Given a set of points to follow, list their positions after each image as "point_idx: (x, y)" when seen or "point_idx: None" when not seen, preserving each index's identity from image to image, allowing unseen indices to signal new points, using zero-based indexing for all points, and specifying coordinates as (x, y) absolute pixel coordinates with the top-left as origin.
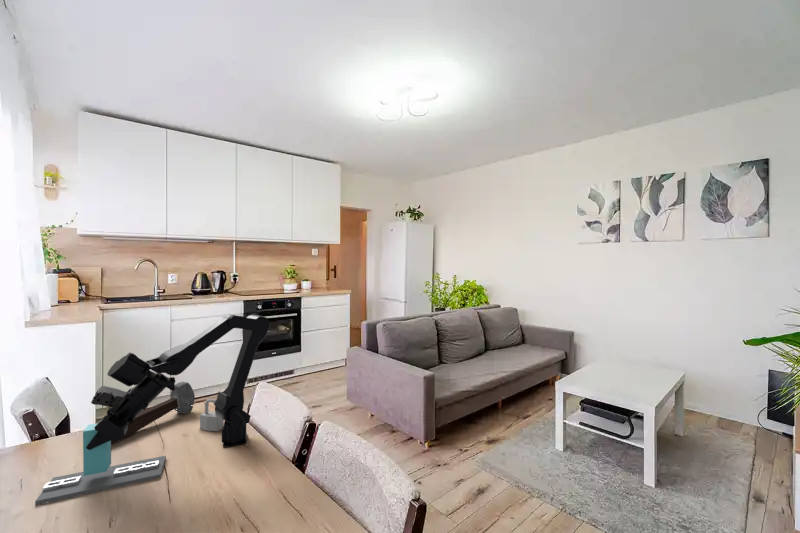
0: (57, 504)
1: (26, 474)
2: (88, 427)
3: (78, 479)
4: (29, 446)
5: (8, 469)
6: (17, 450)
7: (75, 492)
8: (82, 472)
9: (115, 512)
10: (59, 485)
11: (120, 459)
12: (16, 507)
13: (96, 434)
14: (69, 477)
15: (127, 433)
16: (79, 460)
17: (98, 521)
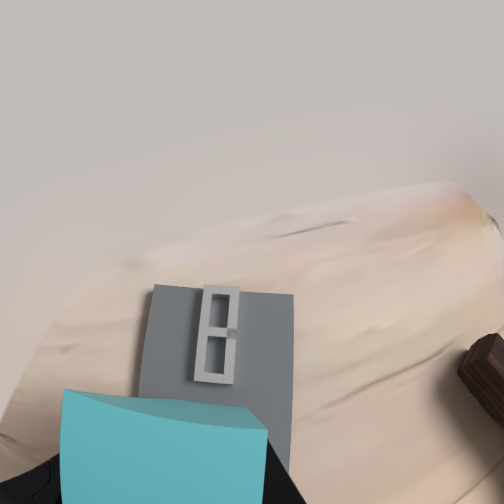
0: (128, 341)
1: (363, 225)
2: (153, 442)
3: (204, 380)
4: (471, 205)
5: (394, 191)
6: (458, 191)
7: (139, 380)
8: (287, 377)
9: (28, 453)
10: (199, 328)
11: (358, 461)
12: (178, 250)
13: (28, 474)
14: (268, 344)
15: (494, 409)
16: (404, 331)
17: (14, 420)
